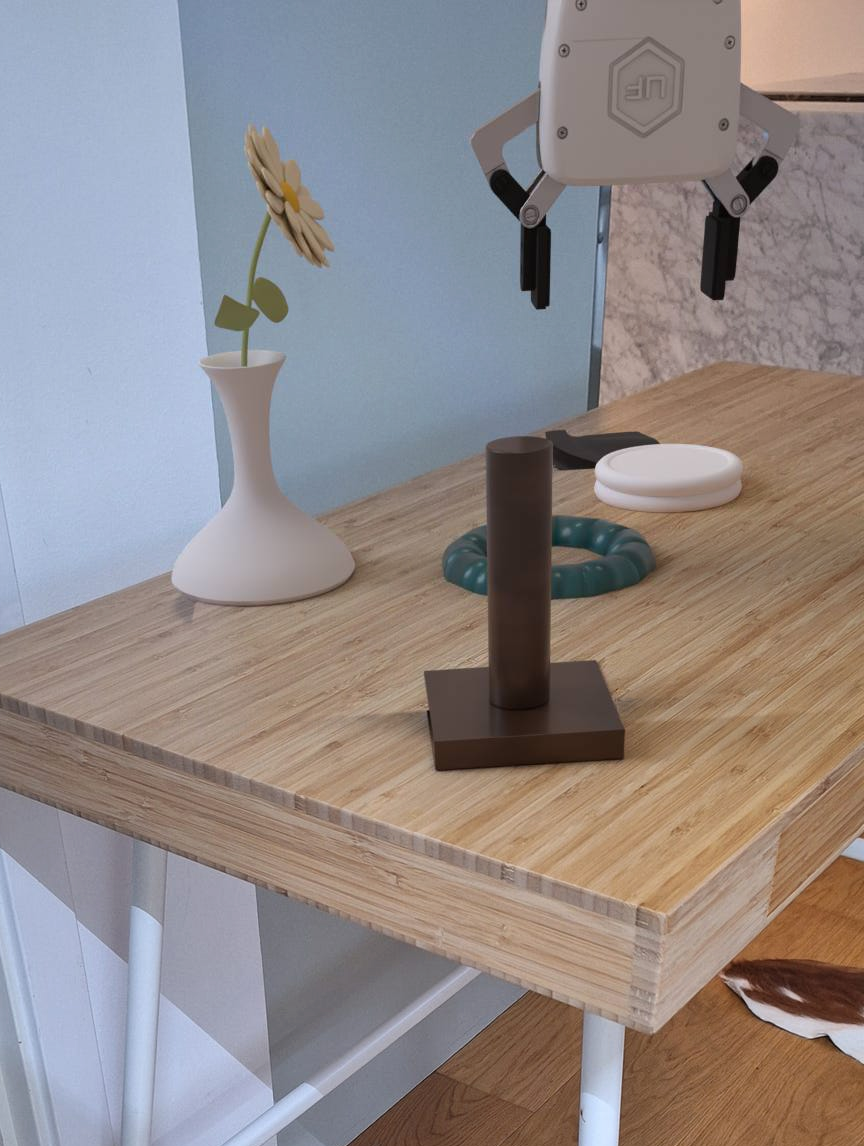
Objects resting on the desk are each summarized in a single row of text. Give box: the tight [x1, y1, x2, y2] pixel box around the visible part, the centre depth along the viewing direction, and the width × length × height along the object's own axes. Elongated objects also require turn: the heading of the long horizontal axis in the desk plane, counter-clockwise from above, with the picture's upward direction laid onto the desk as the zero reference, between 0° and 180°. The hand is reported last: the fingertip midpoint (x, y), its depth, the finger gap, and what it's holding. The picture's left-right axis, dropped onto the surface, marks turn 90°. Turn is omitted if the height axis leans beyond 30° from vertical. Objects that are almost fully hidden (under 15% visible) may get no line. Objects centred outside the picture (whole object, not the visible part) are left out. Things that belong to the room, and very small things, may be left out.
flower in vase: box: [170, 123, 356, 607], centre depth 85 cm, size 13×11×25 cm
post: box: [423, 435, 626, 771], centre depth 70 cm, size 9×9×14 cm
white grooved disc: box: [593, 443, 744, 514], centre depth 101 cm, size 10×10×4 cm
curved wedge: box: [544, 429, 661, 472], centre depth 111 cm, size 8×14×2 cm, turn 9°
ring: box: [441, 514, 657, 601], centre depth 90 cm, size 13×13×3 cm
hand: (625, 301), depth 82 cm, fingers open, 9 cm apart
